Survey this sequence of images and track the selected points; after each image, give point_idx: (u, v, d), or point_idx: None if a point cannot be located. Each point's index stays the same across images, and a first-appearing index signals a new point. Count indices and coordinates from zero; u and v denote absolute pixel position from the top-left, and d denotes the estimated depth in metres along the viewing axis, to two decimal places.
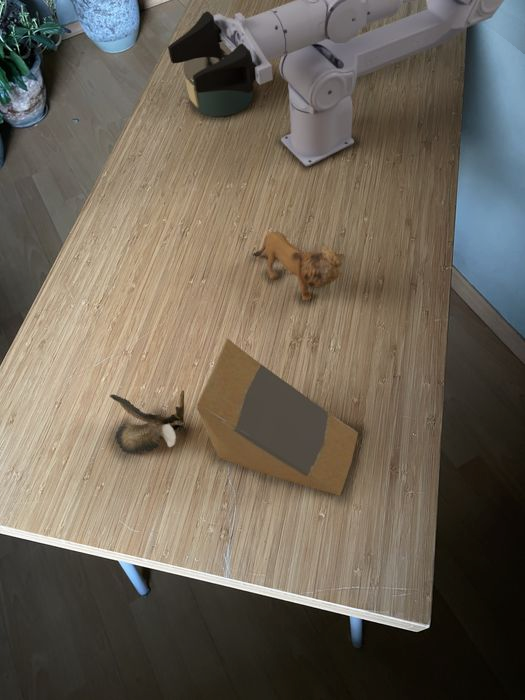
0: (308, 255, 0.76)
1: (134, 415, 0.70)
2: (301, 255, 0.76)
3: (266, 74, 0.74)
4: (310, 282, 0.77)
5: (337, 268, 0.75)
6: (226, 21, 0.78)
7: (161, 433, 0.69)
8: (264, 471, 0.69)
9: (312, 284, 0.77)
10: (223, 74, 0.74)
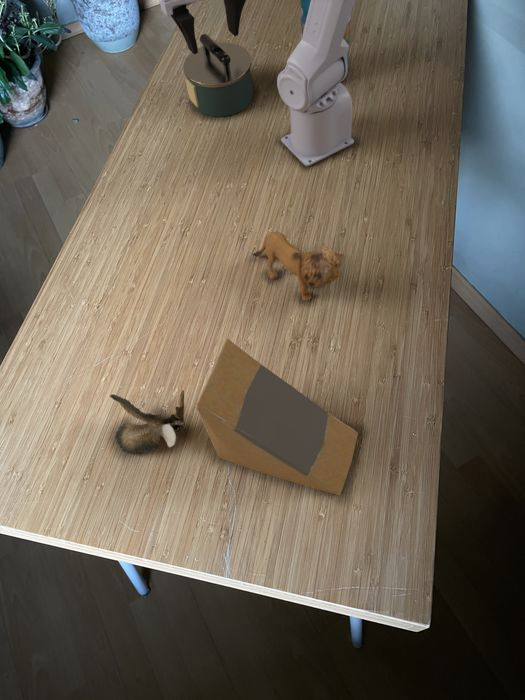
0: (308, 255, 0.76)
1: (134, 415, 0.70)
2: (301, 255, 0.76)
3: (162, 6, 0.88)
4: (310, 282, 0.77)
5: (337, 268, 0.75)
6: None
7: (161, 433, 0.69)
8: (264, 471, 0.69)
9: (312, 284, 0.77)
10: None
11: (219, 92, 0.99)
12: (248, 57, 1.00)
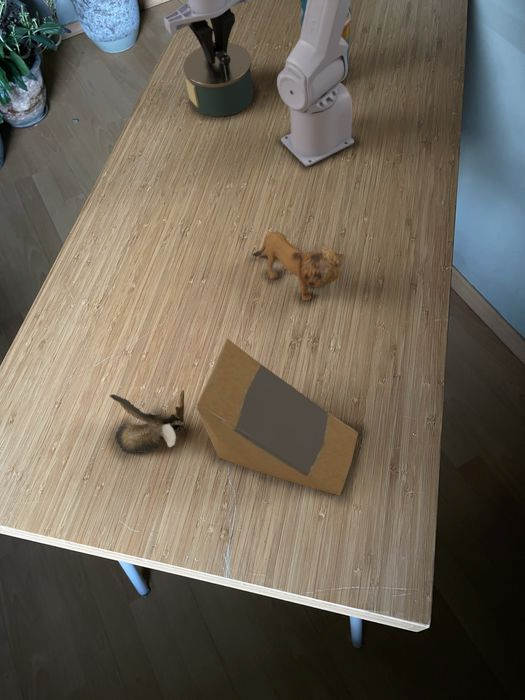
0: (308, 255, 0.76)
1: (134, 415, 0.70)
2: (301, 255, 0.76)
3: (167, 25, 0.91)
4: (310, 282, 0.77)
5: (337, 268, 0.75)
6: None
7: (161, 433, 0.69)
8: (264, 471, 0.69)
9: (312, 284, 0.77)
10: None
11: (219, 92, 0.99)
12: (248, 57, 1.00)
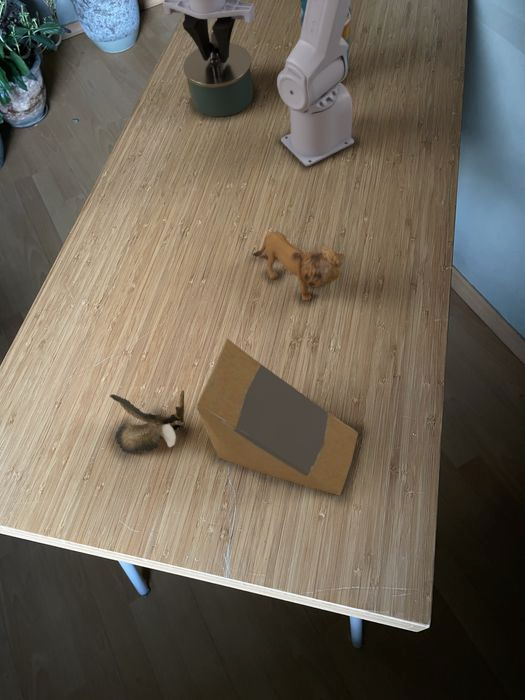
0: (308, 255, 0.76)
1: (134, 415, 0.70)
2: (301, 255, 0.76)
3: None
4: (310, 282, 0.77)
5: (337, 268, 0.75)
6: None
7: (161, 433, 0.69)
8: (264, 471, 0.69)
9: (312, 284, 0.77)
10: None
11: (203, 91, 0.99)
12: (246, 67, 0.98)
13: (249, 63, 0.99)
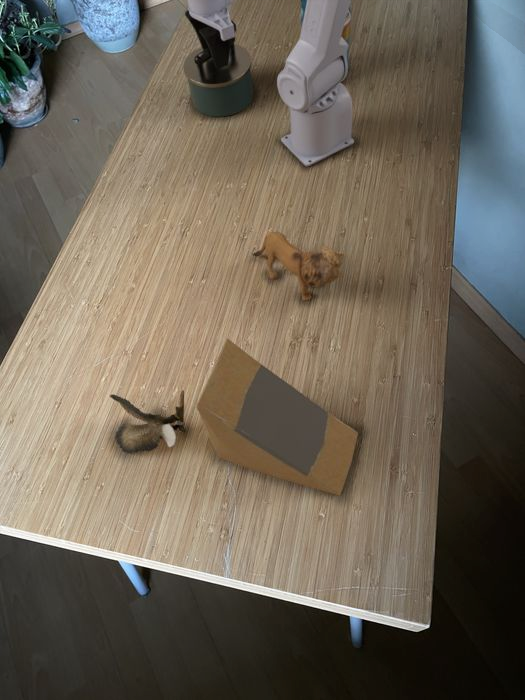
0: (308, 255, 0.76)
1: (134, 415, 0.70)
2: (301, 255, 0.76)
3: None
4: (310, 282, 0.77)
5: (337, 268, 0.75)
6: None
7: (161, 433, 0.69)
8: (264, 471, 0.69)
9: (312, 284, 0.77)
10: None
11: (188, 80, 1.01)
12: (228, 80, 0.97)
13: (235, 78, 0.97)
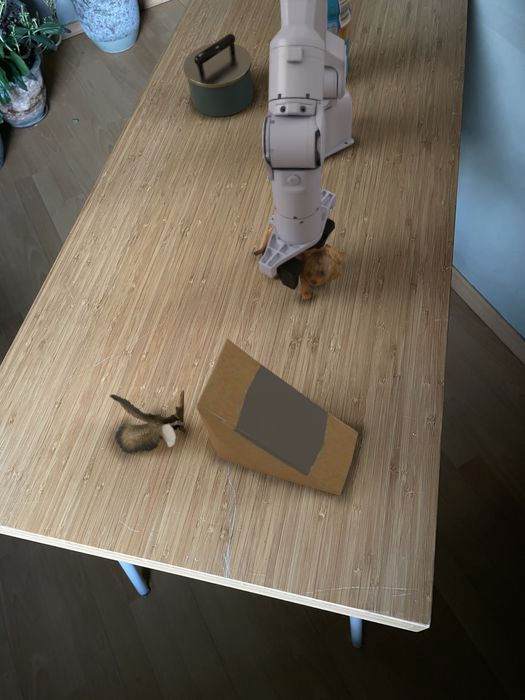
0: (311, 252, 0.76)
1: (134, 415, 0.70)
2: (304, 252, 0.76)
3: (264, 269, 0.72)
4: (312, 279, 0.77)
5: (340, 265, 0.75)
6: None
7: (161, 433, 0.69)
8: (264, 471, 0.69)
9: (314, 281, 0.77)
10: (284, 270, 0.78)
11: (188, 80, 1.01)
12: (228, 80, 0.97)
13: (235, 78, 0.97)
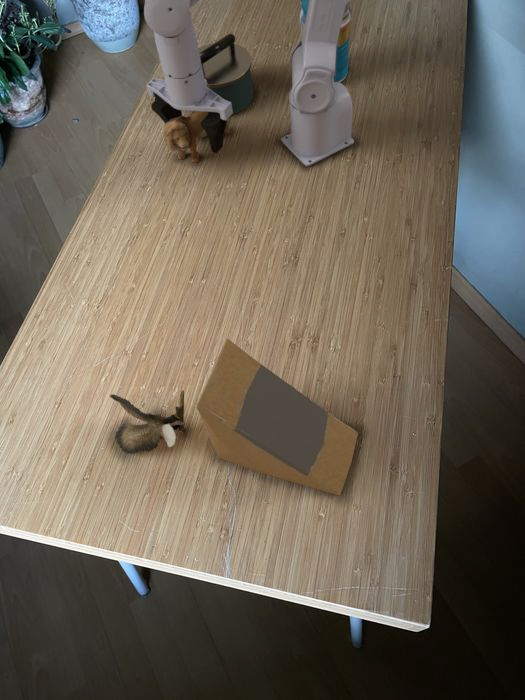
0: (177, 118, 0.92)
1: (134, 415, 0.70)
2: (181, 116, 0.92)
3: None
4: None
5: (167, 138, 0.90)
6: None
7: (161, 433, 0.69)
8: (264, 471, 0.69)
9: None
10: None
11: None
12: (228, 80, 0.97)
13: (235, 78, 0.97)
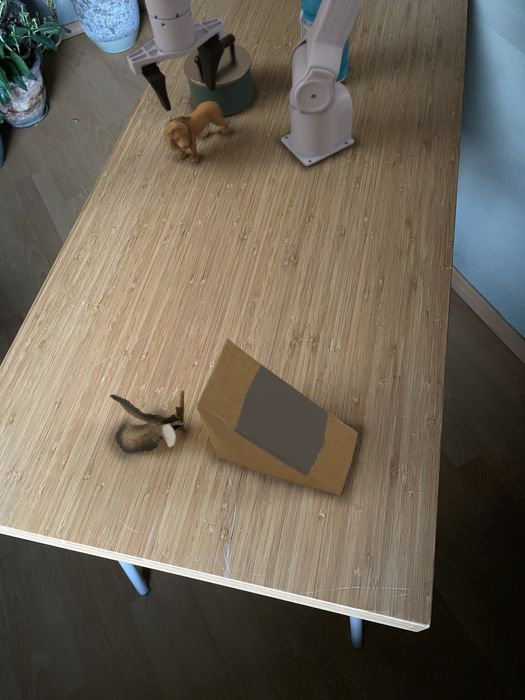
0: (177, 118, 0.92)
1: (134, 415, 0.70)
2: (181, 116, 0.92)
3: (130, 65, 0.81)
4: None
5: (167, 138, 0.90)
6: None
7: (161, 433, 0.69)
8: (264, 471, 0.69)
9: None
10: None
11: (188, 80, 1.01)
12: (228, 80, 0.97)
13: (235, 78, 0.97)
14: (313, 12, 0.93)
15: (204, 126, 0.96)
